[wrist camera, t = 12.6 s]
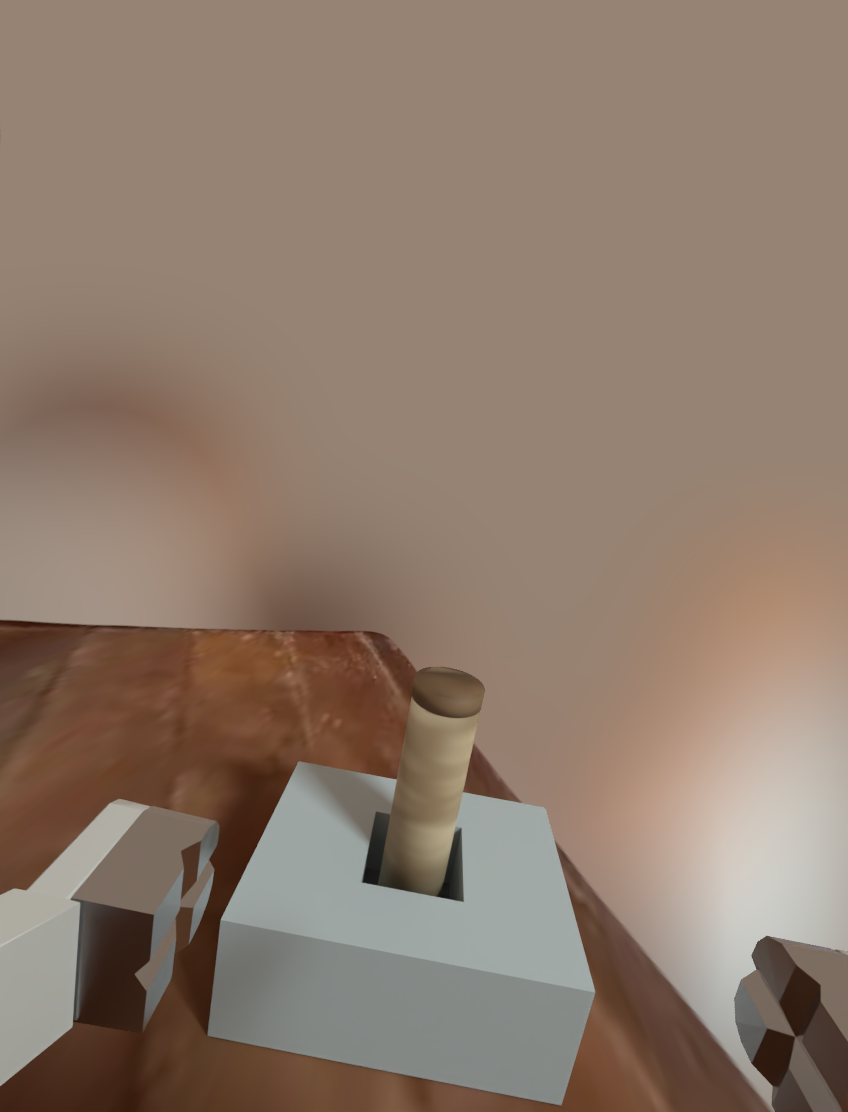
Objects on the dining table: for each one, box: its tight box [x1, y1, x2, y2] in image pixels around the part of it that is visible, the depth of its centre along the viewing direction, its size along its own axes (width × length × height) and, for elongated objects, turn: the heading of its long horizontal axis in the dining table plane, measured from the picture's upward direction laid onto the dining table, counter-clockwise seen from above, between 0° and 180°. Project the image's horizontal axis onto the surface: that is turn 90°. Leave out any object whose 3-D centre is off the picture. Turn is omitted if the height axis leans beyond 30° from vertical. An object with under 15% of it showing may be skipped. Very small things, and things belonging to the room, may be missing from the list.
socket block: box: [207, 761, 595, 1105], centre depth 24 cm, size 14×10×6 cm
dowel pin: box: [378, 667, 485, 897], centre depth 23 cm, size 3×3×12 cm
